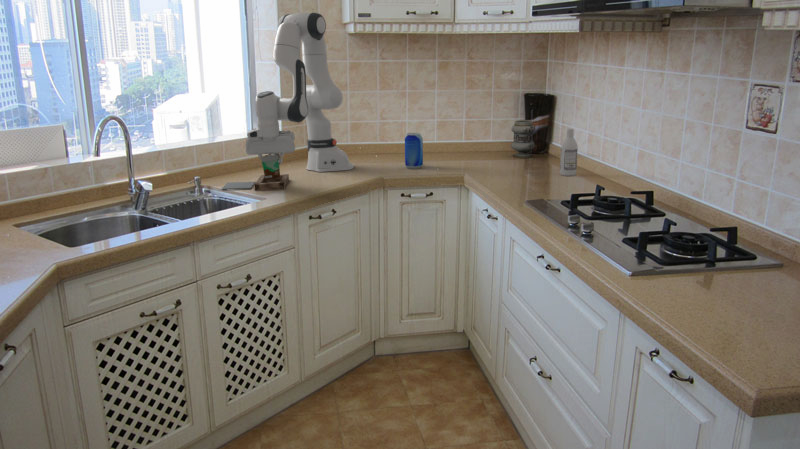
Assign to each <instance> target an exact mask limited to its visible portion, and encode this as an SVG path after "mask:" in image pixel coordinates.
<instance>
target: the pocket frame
mask: <svg viewBox="0 0 800 449" xmlns="http://www.w3.org/2000/svg"><path fill="white" fill-rule="evenodd" d="M289 181H290V175H289V174H288V173H287V174H282V173H280V177H278V178H275V179H270V180H265V175H264V174H261V175H260V176H259V177H258V178H257V180H256V181H255V184H254V191H269V190H270V191H271V190H273V191H274V190H286V187H287V185H288V182H289Z"/></svg>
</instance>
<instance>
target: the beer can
mask: <svg viewBox="0 0 800 449" xmlns="http://www.w3.org/2000/svg"><path fill="white" fill-rule="evenodd" d="M423 142H424V140H423V137H422V134H421V132H408V133H407V132H406V136H405V137H404V165H405V167H406V169H410V170H411V169H413V170H416V169H422V166H423V165H424V145H423V144H424V143H423Z"/></svg>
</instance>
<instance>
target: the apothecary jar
mask: <svg viewBox="0 0 800 449" xmlns="http://www.w3.org/2000/svg"><path fill="white" fill-rule="evenodd" d="M511 131H512V132H513V141H512V142H511V144H510V146H511V149H512V150H513V151H516V152H517V153H515V154H513V155H512V156H513V158H516V159H517V158H518V159H530V158H532V157H533V155H532V154H531V153H529V151H532V150H534V149H535V147H536V143H535V141H534V136H533V134H534V132H535V131H536V126H535V125H533V121H532V120H529V119H519V120H515V121H514V124H513V125H512V127H511Z"/></svg>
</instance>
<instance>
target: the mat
mask: <svg viewBox="0 0 800 449" xmlns="http://www.w3.org/2000/svg"><path fill="white" fill-rule="evenodd" d="M255 183H256V181H235V182H234V181H233V182H231V181H230V182H228V181H227V182H226V183H225V184H224V186H222V188H221V191H228V190H227V189H243V190H252V189H253V187H255V185H254V184H255Z"/></svg>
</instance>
